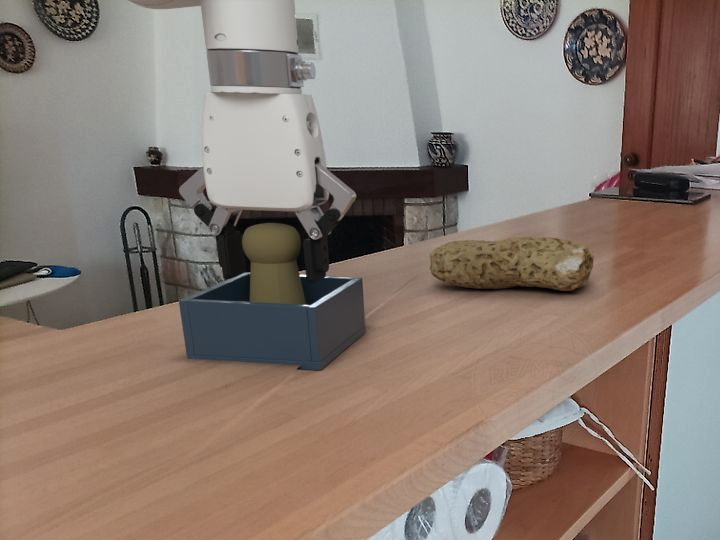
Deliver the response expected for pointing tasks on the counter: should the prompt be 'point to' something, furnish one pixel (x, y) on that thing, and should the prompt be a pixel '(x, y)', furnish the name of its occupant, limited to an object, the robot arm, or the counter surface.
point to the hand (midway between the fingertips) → (275, 276)
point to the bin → (274, 323)
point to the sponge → (513, 263)
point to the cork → (273, 263)
